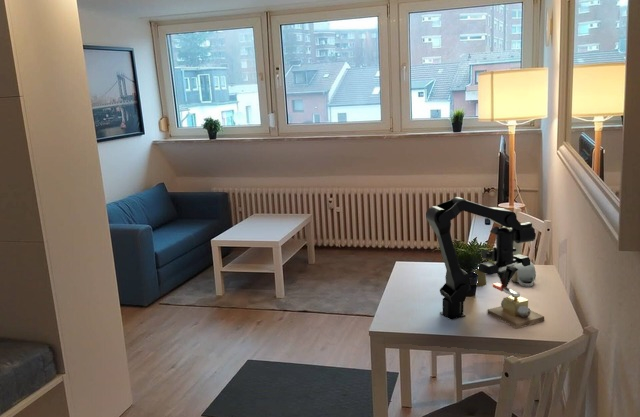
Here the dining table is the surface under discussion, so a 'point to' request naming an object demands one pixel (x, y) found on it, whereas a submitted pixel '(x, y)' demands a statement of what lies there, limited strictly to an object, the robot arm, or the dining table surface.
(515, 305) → the ball valve
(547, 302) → the dining table surface
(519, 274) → the ceramic mug
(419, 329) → the dining table surface
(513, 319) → the valve board
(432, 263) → the dining table surface
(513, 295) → the valve lever
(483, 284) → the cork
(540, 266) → the dining table surface
